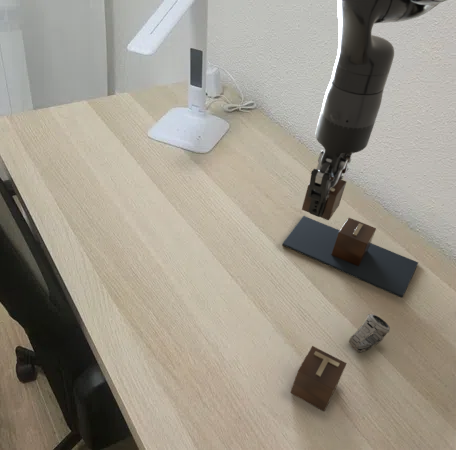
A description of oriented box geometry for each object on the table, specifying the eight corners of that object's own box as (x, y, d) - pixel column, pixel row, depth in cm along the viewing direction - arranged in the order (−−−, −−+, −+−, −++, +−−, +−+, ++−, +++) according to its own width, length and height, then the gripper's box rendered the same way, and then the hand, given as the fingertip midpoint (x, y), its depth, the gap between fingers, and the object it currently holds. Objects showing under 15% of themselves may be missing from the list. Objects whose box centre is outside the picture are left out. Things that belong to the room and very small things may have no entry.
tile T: (337, 385, 72) (347, 362, 69) (324, 411, 69) (334, 388, 66) (304, 368, 74) (312, 344, 71) (290, 392, 71) (298, 369, 68)
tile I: (367, 250, 91) (376, 227, 88) (358, 266, 89) (367, 242, 85) (341, 239, 93) (348, 216, 90) (331, 254, 90) (338, 231, 87)
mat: (417, 264, 90) (418, 262, 90) (402, 297, 84) (403, 296, 84) (303, 217, 98) (303, 215, 98) (282, 245, 92) (282, 243, 92)
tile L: (338, 206, 90) (347, 180, 87) (328, 220, 87) (336, 194, 84) (312, 195, 92) (319, 170, 88) (301, 209, 89) (308, 183, 85)
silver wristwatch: (388, 344, 78) (400, 321, 74) (357, 362, 75) (367, 339, 72) (370, 326, 80) (380, 304, 77) (338, 343, 77) (347, 320, 74)
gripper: (357, 143, 72) (327, 239, 83) (390, 100, 81) (358, 192, 92) (304, 124, 75) (281, 220, 86) (341, 85, 84) (316, 176, 95)
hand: (321, 205), depth 89 cm, fingers closed on tile L, 4 cm apart
